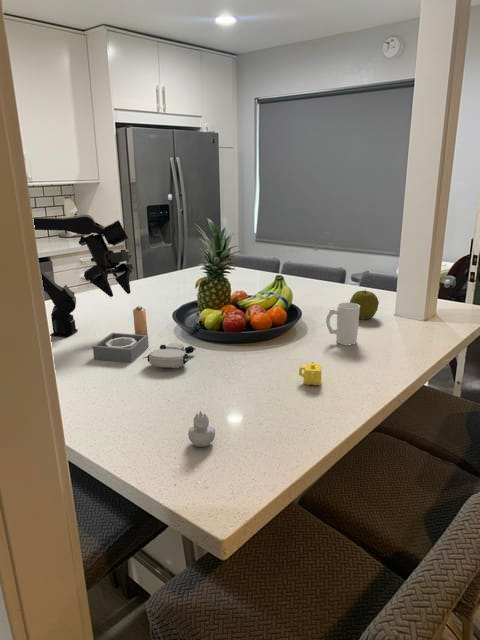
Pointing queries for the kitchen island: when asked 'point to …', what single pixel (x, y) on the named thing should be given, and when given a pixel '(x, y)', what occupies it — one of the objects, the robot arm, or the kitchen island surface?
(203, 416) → the grey potted plant
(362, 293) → the apple
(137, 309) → the orange cylinder
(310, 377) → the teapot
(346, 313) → the mug
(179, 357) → the robot toy
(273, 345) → the kitchen island surface
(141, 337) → the housing
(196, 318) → the caliper
